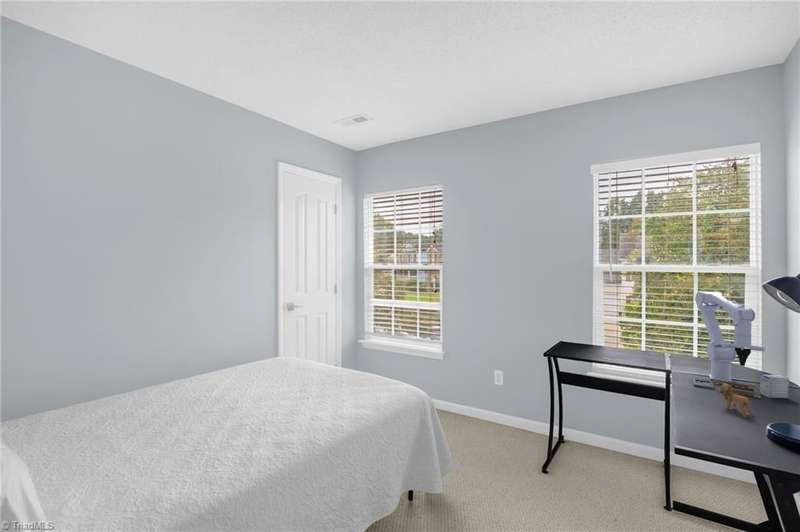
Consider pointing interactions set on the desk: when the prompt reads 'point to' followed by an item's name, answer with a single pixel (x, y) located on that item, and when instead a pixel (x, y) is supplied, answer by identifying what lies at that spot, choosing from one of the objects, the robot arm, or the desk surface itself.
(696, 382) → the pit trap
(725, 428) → the desk surface
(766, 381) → the medicine box
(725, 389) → the lion figurine
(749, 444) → the desk surface
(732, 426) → the desk surface
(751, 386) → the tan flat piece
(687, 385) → the desk surface
